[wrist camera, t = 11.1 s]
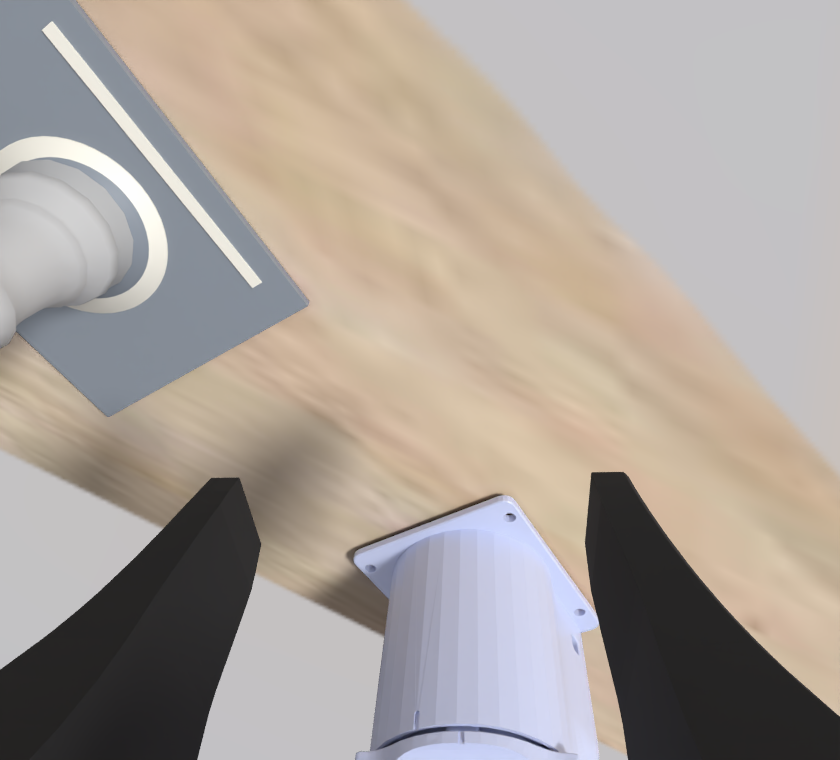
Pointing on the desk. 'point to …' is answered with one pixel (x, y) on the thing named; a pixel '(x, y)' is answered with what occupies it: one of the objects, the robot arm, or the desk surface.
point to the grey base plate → (131, 215)
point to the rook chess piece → (56, 241)
